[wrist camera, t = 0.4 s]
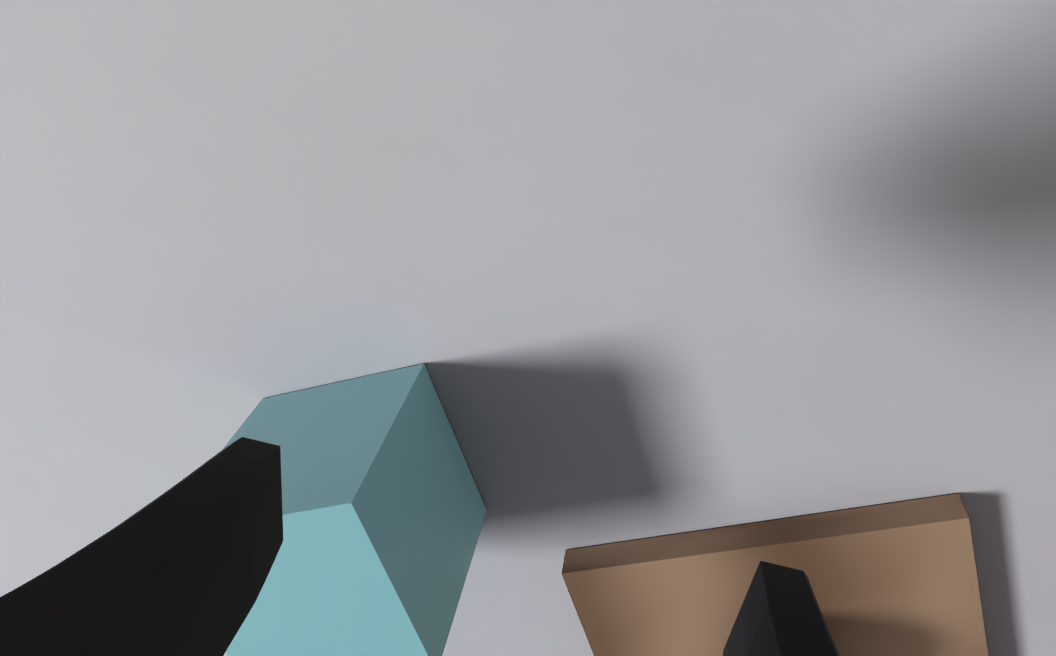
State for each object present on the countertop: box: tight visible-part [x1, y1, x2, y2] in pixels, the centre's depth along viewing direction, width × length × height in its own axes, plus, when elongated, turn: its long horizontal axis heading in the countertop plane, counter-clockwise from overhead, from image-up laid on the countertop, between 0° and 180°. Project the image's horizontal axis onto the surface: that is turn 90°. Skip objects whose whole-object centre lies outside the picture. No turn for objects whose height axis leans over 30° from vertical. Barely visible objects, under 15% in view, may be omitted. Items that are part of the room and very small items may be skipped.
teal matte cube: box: [223, 364, 487, 656], centre depth 23 cm, size 5×5×6 cm
